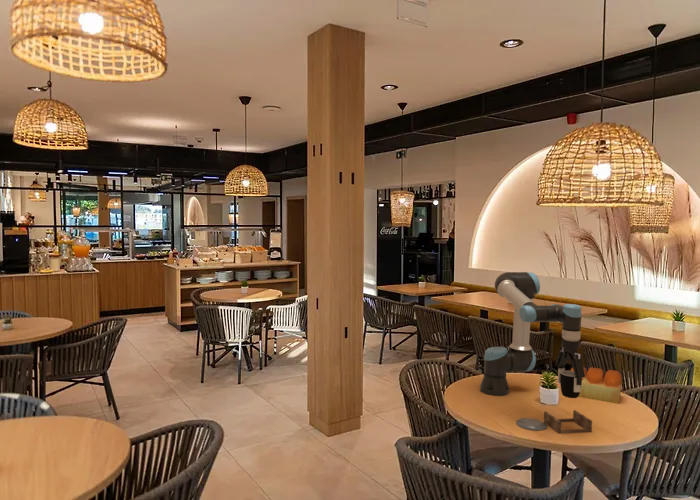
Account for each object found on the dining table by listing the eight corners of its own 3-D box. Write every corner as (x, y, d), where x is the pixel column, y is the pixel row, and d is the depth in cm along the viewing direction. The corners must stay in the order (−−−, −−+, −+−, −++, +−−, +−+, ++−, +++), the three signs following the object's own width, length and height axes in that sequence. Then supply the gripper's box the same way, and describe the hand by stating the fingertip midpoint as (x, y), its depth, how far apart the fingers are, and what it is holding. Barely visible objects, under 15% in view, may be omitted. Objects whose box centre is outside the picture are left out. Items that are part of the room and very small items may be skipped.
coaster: (511, 420, 240) (511, 418, 240) (537, 418, 242) (537, 417, 242) (524, 431, 227) (525, 430, 227) (552, 430, 229) (552, 428, 229)
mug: (585, 399, 226) (586, 376, 226) (566, 399, 225) (566, 376, 225) (570, 390, 238) (571, 368, 238) (552, 390, 237) (553, 368, 237)
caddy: (543, 422, 238) (544, 411, 237) (575, 420, 240) (575, 410, 240) (558, 433, 225) (559, 422, 225) (591, 431, 228) (592, 420, 227)
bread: (621, 397, 274) (622, 369, 273) (619, 404, 263) (621, 375, 262) (570, 388, 287) (571, 362, 286) (567, 395, 276) (568, 367, 275)
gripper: (548, 333, 242) (546, 378, 243) (579, 346, 218) (576, 396, 219) (563, 333, 243) (561, 378, 244) (595, 345, 219) (593, 396, 220)
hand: (568, 387), depth 232 cm, fingers closed on mug, 12 cm apart
